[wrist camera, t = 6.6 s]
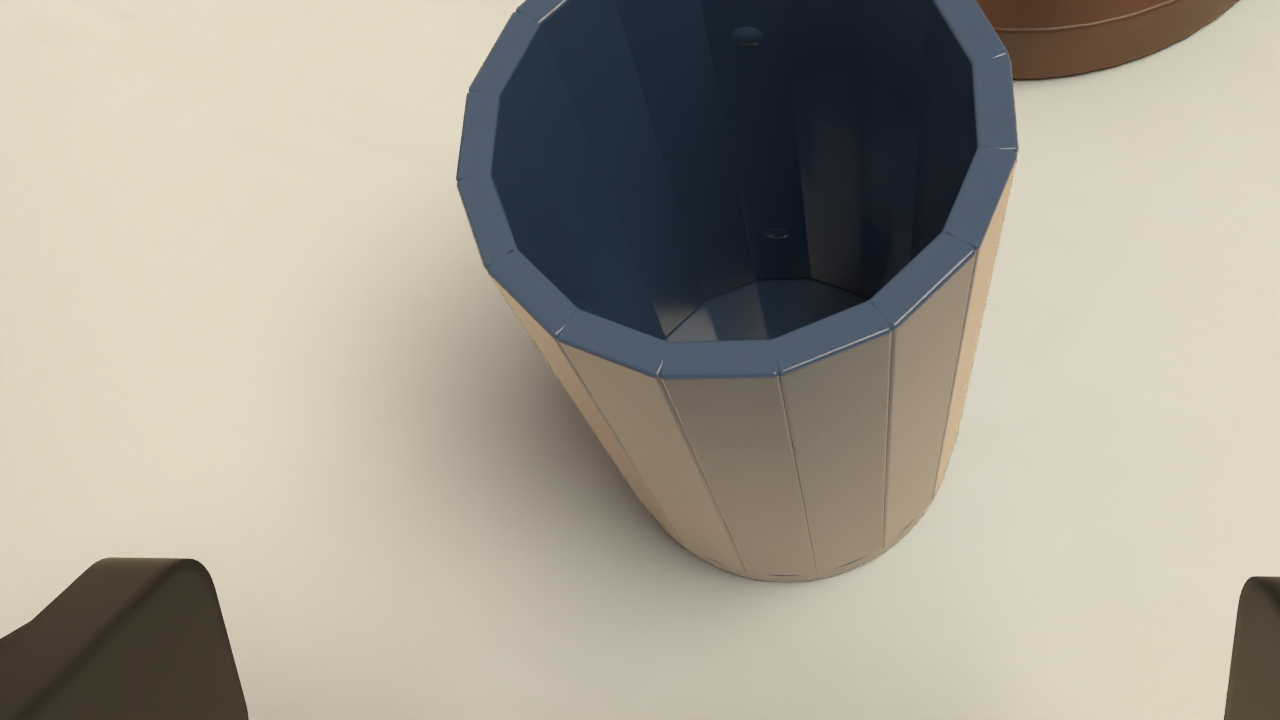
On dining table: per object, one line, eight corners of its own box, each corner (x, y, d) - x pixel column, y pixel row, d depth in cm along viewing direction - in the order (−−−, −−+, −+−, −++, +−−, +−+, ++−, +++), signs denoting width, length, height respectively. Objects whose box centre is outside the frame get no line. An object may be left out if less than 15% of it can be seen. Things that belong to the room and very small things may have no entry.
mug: (961, 585, 19) (1038, 371, 10) (616, 580, 20) (427, 383, 12) (935, 93, 23) (975, -367, 14) (644, 111, 24) (516, -306, 15)
